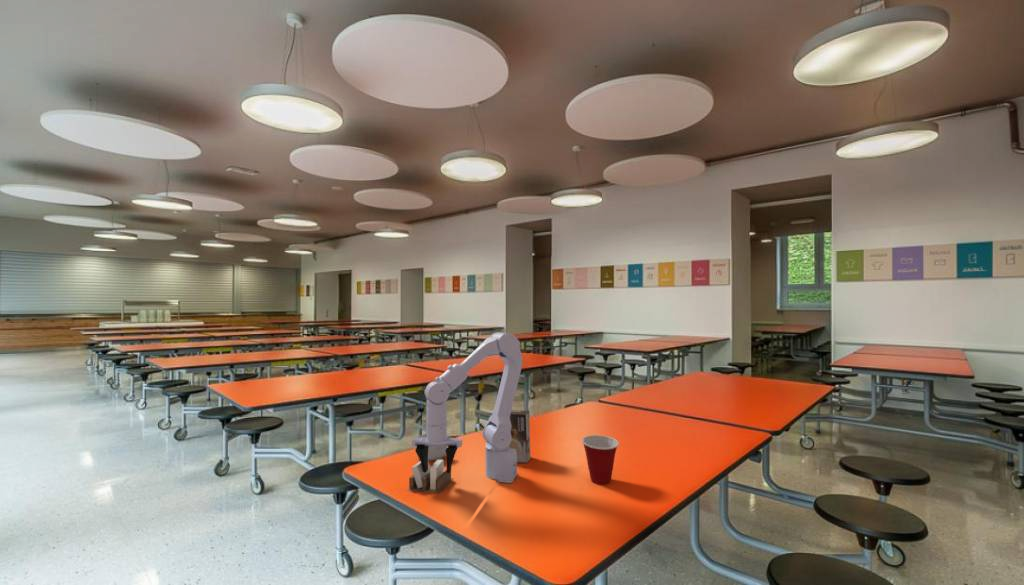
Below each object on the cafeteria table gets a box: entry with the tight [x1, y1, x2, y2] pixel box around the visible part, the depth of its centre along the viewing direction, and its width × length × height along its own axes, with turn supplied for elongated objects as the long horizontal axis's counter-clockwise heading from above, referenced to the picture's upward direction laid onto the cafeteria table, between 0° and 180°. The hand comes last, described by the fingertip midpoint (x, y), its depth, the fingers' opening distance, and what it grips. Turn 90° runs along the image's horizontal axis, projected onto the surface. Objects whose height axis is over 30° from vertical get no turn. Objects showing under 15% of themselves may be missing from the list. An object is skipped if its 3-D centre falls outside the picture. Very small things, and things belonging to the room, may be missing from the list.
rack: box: [405, 469, 454, 494], centre depth 125 cm, size 10×11×4 cm
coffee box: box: [509, 409, 532, 464], centre depth 148 cm, size 9×6×16 cm
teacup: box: [415, 433, 448, 462], centre depth 150 cm, size 14×11×8 cm
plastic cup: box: [581, 434, 620, 485], centre depth 127 cm, size 11×11×12 cm
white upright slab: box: [430, 459, 445, 490], centre depth 124 cm, size 2×7×6 cm, turn 173°
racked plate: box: [411, 460, 431, 488], centre depth 125 cm, size 2×7×6 cm, turn 167°
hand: (437, 471), depth 124 cm, fingers open, 6 cm apart
